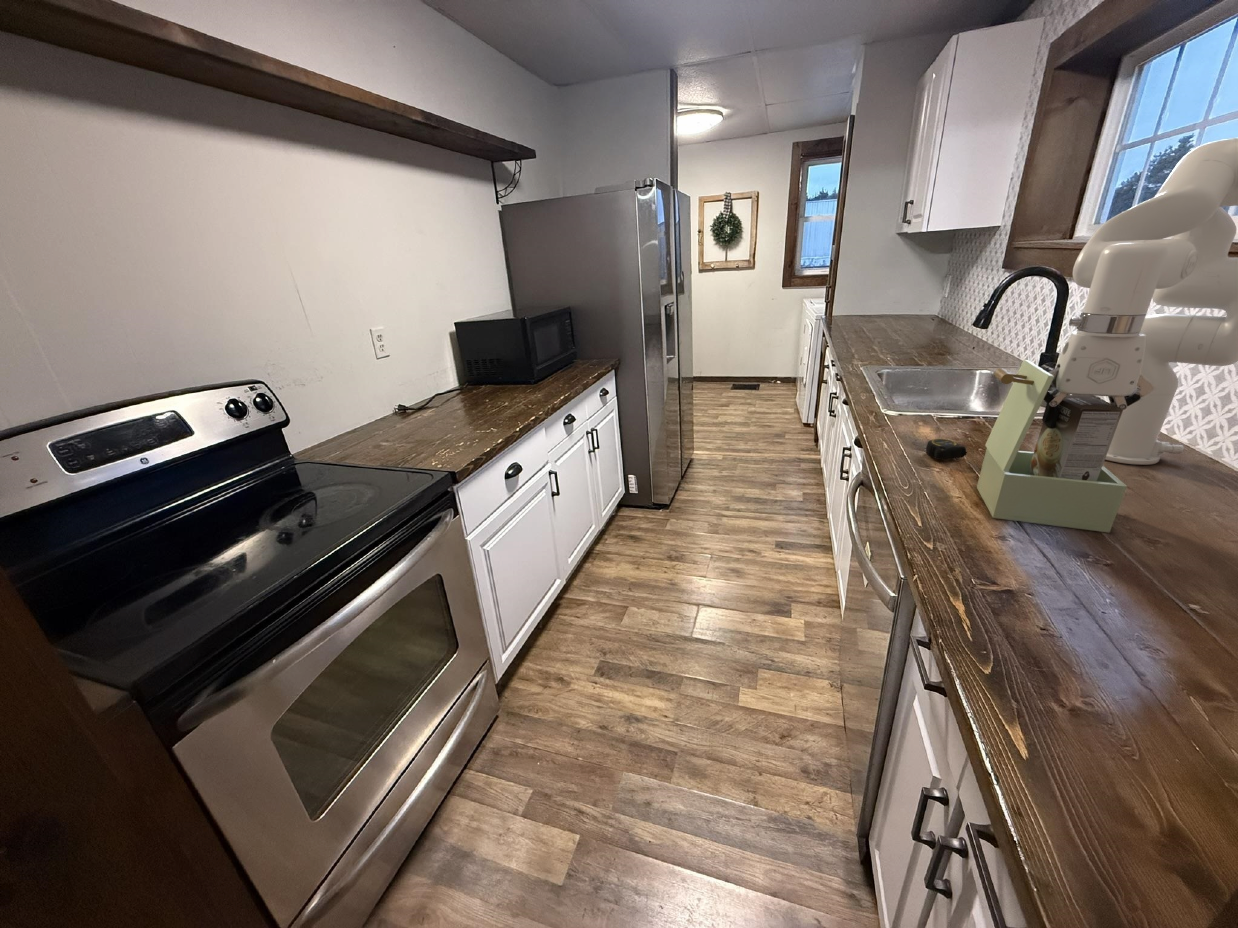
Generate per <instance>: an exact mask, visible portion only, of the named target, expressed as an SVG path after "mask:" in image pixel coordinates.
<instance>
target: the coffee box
mask: <svg viewBox="0 0 1238 928" xmlns="http://www.w3.org/2000/svg"><path fill="white" fill-rule="evenodd" d="M1059 407H1060V408H1061V410H1060V413H1059V416H1058V419H1057V423H1056V426H1055V428H1053V429H1049V428H1048V427H1047V426H1046V425H1045V424H1044V422H1043V421H1042V423H1041V427H1040V431H1039V434H1038V437H1037V440H1036V444H1035V447H1034V451H1033V452H1034V454H1033V457H1032V460H1031V463H1030V467H1029V470H1028V475H1035V476H1045V477H1056V478H1066V479H1076V480H1086V481H1097V479H1098V477H1099V474H1100V471H1101V468H1102V466H1104V463H1105V461H1106V460H1105V458H1106V455H1107V452H1108V450H1109V447H1110V444H1111V442H1112V439H1113V436H1114V433H1115V431H1116V428H1117V425H1118V423H1119V420H1120V417H1121V415H1122V412H1123V409H1121V408H1119V407H1117V406H1114V405H1112V404H1110V403H1109V401H1105V400H1103V399H1101V398H1098V397H1097V396H1089V395H1071V394H1069V395H1067V396H1066V397H1065V398H1064V399H1063V400H1062V401H1061V402H1060V403H1059Z"/></svg>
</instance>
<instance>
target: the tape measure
mask: <svg viewBox="0 0 1238 928" xmlns="http://www.w3.org/2000/svg"><path fill="white" fill-rule="evenodd" d="M925 453H926V455H927V456H928V457H931V458H933V459H937V460H943V461H946V460H953V459H961V458H964V457H965V456H967V454H968V451H967V449H966V446H964V445H961V444H958V442H956V441H953V440H951V439H946V438H934V439H930V440H929V441H928V442H927V444H926V447H925Z"/></svg>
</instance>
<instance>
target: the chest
mask: <svg viewBox="0 0 1238 928" xmlns="http://www.w3.org/2000/svg"><path fill="white" fill-rule="evenodd" d="M1033 454H1034V451H1026V450H1019V451H1018V453H1017V455H1016V457H1015V459H1014V461H1013V463H1012V465H1011V467H1010V469H1009V471H1008V472H1004V471H1003V470H1002V469H1001V468H1000V466H999V465H998V463H997V462H996V460H995V459H994V457H993V456H992V455H991V453H990V452H989V450H988V449H987V448H986V450H985V453H984V457H983V461H982V465H981V469H980V473H979V477H978V481H977V484H976V489H977V491H978V493H979V495H980V497H981V498H982V500H983V502H984V504H985V506H986V508H987V510H988V512H989V513H990V515H991V517H992V518H993V519H998V520H1008V521H1016V522H1022V523H1030V524H1038V525H1044V526H1045V525H1046V526H1047V525H1048V526H1053V527H1054V526H1055V527H1060V528H1061V527H1062V528H1070V529H1077V530H1085V531H1094V532H1101V533H1107V534H1108V533H1111V530H1112V527H1113V525H1114V523H1115V520H1116V517H1117V514H1118V511H1119V509H1120V507H1121V504H1122V501H1123V499H1124V497H1125V493H1126V491H1127V489H1128V485H1126V484H1125V483H1124V482H1123V481H1122V480H1120V479H1119V478H1118V477H1117V476H1116V475H1114V474H1113V472H1111V471H1110V470H1109V469H1108V468H1107V467H1105V466H1104V465H1103V466H1102V468H1101V471H1100V474H1099V477H1098V479H1097V481H1086V480H1076V479H1066V478H1056V477H1045V476H1035V475H1028V470H1029V467H1030V463H1031V460H1032V457H1033Z"/></svg>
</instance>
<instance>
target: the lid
mask: <svg viewBox="0 0 1238 928" xmlns="http://www.w3.org/2000/svg"><path fill="white" fill-rule="evenodd" d="M1048 372H1049V371H1047V370H1045V369H1043V368H1042V367H1040V366H1038V365H1037V364H1035V363H1034V362H1032V361H1031V360H1029V359H1023V360H1022V362H1021V365H1020V367H1019V369H1018V371H1017V373H1013V372H1009V371H1008V370H1007V369H1005V368H1002V367H999V368H997V369H995V370H994V373H993V375H994V377H995V378H996V379H997V380H998V381H1000V382H1001V383H1002V384H1003V385H1009V384H1011V383H1012V385H1011V387H1010V389H1009V391H1008V394H1007V396H1006V398H1005V400H1004V402H1003V404H1002V407H1001V409H1000V411H999V413H998V416H997V418H996V420H995V423H994V424H993V427H992V428H991V431H990V434H989V435H988V438H987V440H986V442H985V444H984V446H985V447H986V449H988V450H989V452H990V453H991V455H992V456H993V457H994V459H995V460H996V462H997V463H998V465H999V466H1000V468H1001V469H1002V470H1003V471H1004V472H1008V471H1009V469H1010V467H1011V465H1012V463H1013V461H1014V459H1015V457H1016V455H1017V453H1018V451H1020V449H1021V446H1022V445H1023V442H1024V441H1025V438H1026V436H1027V433H1028V432H1029V430H1030V428H1031V426H1032V424H1033V422H1034V420H1035V418H1036V415H1037V413H1038V411H1039V410H1040V407H1041V405H1042V403H1043V401H1044V400H1043V399H1044V397H1045V395H1046V393H1047V391H1048V392H1049V388H1050V386H1052V385H1051V383H1052V381H1053V378H1054V376H1053V375H1051V374H1050V373H1048Z"/></svg>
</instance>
